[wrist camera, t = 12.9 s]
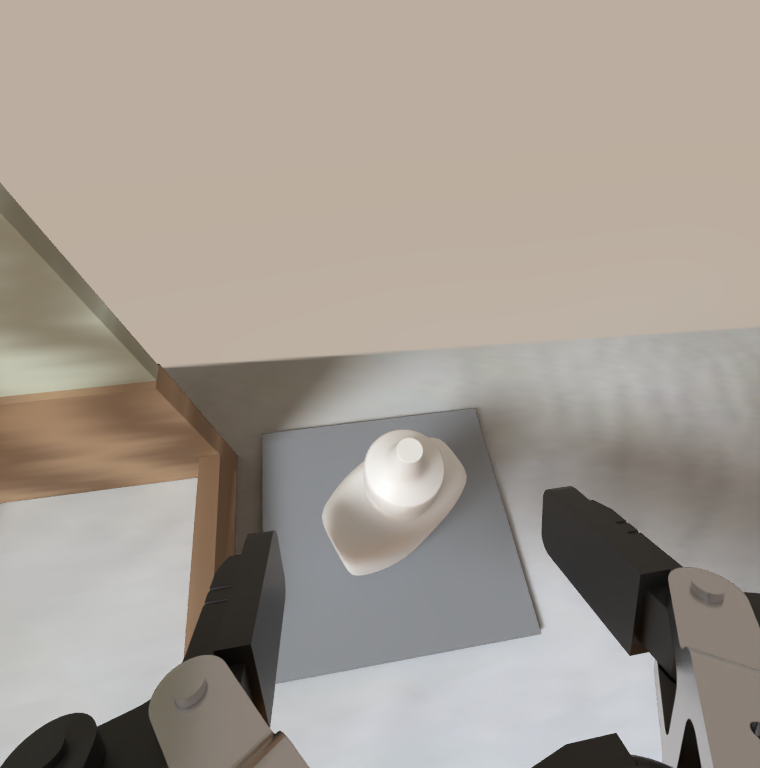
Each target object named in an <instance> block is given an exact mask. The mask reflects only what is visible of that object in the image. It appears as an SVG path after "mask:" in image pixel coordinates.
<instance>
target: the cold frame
mask: <svg viewBox="0 0 760 768" xmlns="http://www.w3.org/2000/svg"><path fill="white" fill-rule="evenodd" d="M197 477H198V483H197V496H196V509H195V522H194V535H193V548H192V560H191V573H190V586H189V599H188V612H187V625H186V637H185V650H184V657H185V654H186V651H187V649H188V646H189V643H190V640H191V638H192V635H193V632H194V630H195V627H196V624H197V621H198V619H199V616H200V613H201V610H202V608H203V606H204V605H205V603H204V602H205V599H206V597H207V594H208V592H209V591H210V589H209V588H210V586H211V583H212V580H213V578H214V575H215V572H216V571H217V570H218V568H219V567H220V566H221V565H222V564H223V563H224V561H225V560H226V559H227V558H228V557H230V556H235V524H236V490H237V454H236V453H235V452H234V451H233V450H232V449H231V447H230V446H229V445H228V444H227V443H226V442H225V440H224V439H223V438H222V437H221V436H220V435H219V433H218V432H217V431H216V430H215V429H214V428H213V426H212V425H211V424H210V423H209V422H208V420H207V419H206V418H205V417H204V416H203V415H202V413H201V412H200V411H199V410H198V409H197V408H196V406H195V405H194V404H193V403H192V402H191V401H190V399H189V398H188V397H187V396H186V395H185V394H184V392H183V391H182V390H181V389H180V388H179V387H178V385H177V384H176V383H175V382H174V381H173V380H172V378H171V377H170V376H169V375H168V374H167V373H166V371H165V370H164V369H163V368H162V367H161V365H160V364H156V362H155V361H154V360H153V359H152V358H151V357H150V356H149V354H148V353H147V352H146V351H145V350H144V349H143V348H142V346H141V345H140V344H139V343H138V342H137V340H136V339H135V338H134V337H133V336H132V335H131V334H130V332H129V331H128V330H127V329H126V328H125V327H124V325H123V324H122V323H121V322H120V321H119V320H118V318H117V317H116V316H115V315H114V314H113V313H112V312H111V311H110V309H109V308H108V307H107V306H106V305H105V303H104V302H103V301H102V300H101V299H100V298H99V297H98V295H97V294H96V293H95V292H94V291H93V290H92V288H91V287H90V286H89V285H88V284H87V283H86V282H85V281H84V279H83V278H82V277H81V276H80V275H79V273H78V272H77V271H76V270H75V269H74V268H73V266H72V265H71V264H70V263H69V262H68V261H67V260H66V258H65V257H64V256H63V255H62V254H61V253H60V252H59V250H58V249H57V248H56V247H55V246H54V244H52V242H51V241H50V240H49V239H48V238H47V236H46V235H45V234H44V233H43V232H42V231H41V229H40V228H39V227H38V226H37V225H36V224H35V223H34V221H33V220H32V219H31V218H30V217H29V216H28V215H27V213H26V212H25V211H24V210H23V209H22V207H21V206H20V205H19V204H18V203H17V202H16V201H15V199H14V198H13V197H12V196H11V195H10V194H9V192H8V191H7V190H6V189H5V188H4V187H3V185H2V184H1V183H0V503H5V502H13V501H20V500H28V499H36V498H43V497H51V496H59V495H66V494H74V493H82V492H90V491H97V490H105V489H113V488H120V487H128V486H136V485H143V484H151V483H159V482H167V481H174V480H182V479H190V478H197Z"/></svg>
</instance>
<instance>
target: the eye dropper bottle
mask: <svg viewBox="0 0 760 768" xmlns="http://www.w3.org/2000/svg"><path fill="white" fill-rule="evenodd" d="M466 478H467V474H466V472H465V469H464V467H463V465H462V464H461V462H460V461H459V459H458V458H457V457H456V456H455V454H454V453H453V452H452V450H451V449H450V448H449V447H448V446H447V445H446V444H445V443H444V442H443V441H441V440H440V439H437V438H432V437H430V438H428V437H427V436H425V435H424V434H421V433H420V432H417V431H413V430H409V429H407V430H405V429H403V430H401V429H399V430H395V431H393V430H392V431H391V432H388V433H384V435H381V437H378V440H375V442H374V443H372V446H370V449H369V450H368V453H366V457H365V460H364V461H363V462H362V463H361V464H359V465H358V466H357V467H356V468H355V469H354V470H353V471H351V472H350V473H349V474H348V475H347V476H346V477H345V479H344V480H343V481H342V482H341V483H340V484H339V486H338V487H337V488H336V490H335V491H334V492H333V494H332V495H331V497H330V498H329V500H328V501H327V503H326V505H325V507H324V510H323V513H322V521H323V525H324V528H325V530H326V532H327V534H328V536H329V538H330V540H331V542H332V544H333V546H334V548H335V550H336V551H337V553H338V555H339V557H340V559H341V560H342V562H343V564H344V566H345V567H346V569H347V570H348V571H349V572H350V573H351V574H352V575H356V576H361V575H367V574H371V573H375V572H378V571H380V570H383V569H386V568H388V567H390V566H392V565H394V564H396V563H397V562H399V561H401V560H402V559H404V558H405V557H407V556H408V555H409V554H410V553H412V552H413V551H414V550H415V549H416V548H417V547H418V546H419V545H420V544H421V543H422V542H423V541H424V540H425V539H426V538H427V537H428V536H429V534H430V533H431V532H432V531H433V530H434V529H435V528H436V527H437V526H438V525H439V524H440V523H441V521H442V520H443V519H444V518H445V517H446V516H447V514H448V513H449V512H450V511H451V509H452V508H453V507H454V505H455V503H456V502H457V500H458V499H459V497H460V495H461V493H462V491H463V489H464V486H465V484H466Z"/></svg>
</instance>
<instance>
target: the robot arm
mask: <svg viewBox="0 0 760 768" xmlns="http://www.w3.org/2000/svg"><path fill="white" fill-rule="evenodd" d="M542 540H543V544H544V547H545V549H546V551H547V553H548V554H549V556H550V557H551V558H552V560H553V561H554V562H555V563H556V565H557V566H558V567H559V568H560V570H561V571H562V572H563V573H564V575H565V576H566V577H567V578H568V580H569V581H570V582H571V583H572V585H573V586H574V587H575V588H576V589H577V591H578V592H579V593H580V594H581V596H582V597H583V598H584V599H585V601H586V602H587V603H588V604H589V606H590V607H591V608H592V609H593V611H594V612H595V613H596V614H597V616H598V617H599V618H600V619H601V621H602V622H603V623H604V624H605V626H606V627H607V628H608V629H609V631H610V632H611V633H612V634H613V636H614V637H615V638H616V639H617V641H618V642H619V643H620V644H621V645H622V647H623V648H624V649H625V650H626V652H627V653H628V654H629V655H630V656H631V655H636V654H641V653H646V652H650V654H651V655H652V656H653V657H654V658H655V664H654V677H655V686H656V696H657V705H658V715H659V724H660V733H661V743H662V763H661V762H658V761H655V760H653V759H649V758H645V757H641V756H637V755H630V754H629V752H628V750H627V749H626V747H625V746H624V744H623V743H622V741H621V740H620V738H619V736H618V735H617V733H614V734H609V735H605V736H601V737H596V738H592V739H588V740H583V741H579V742H575V743H570V744H566V745H565V746H563V747H562V748H560V749H559V750H557V751H556V752H554V753H553V754H551V755H550V756H548V757H547V758H545V759H544V760H542V761H541V762H539V763H538V764H536V765H535V766H533V767H532V768H760V594H759V593H747V592H742V591H741V590H740V589H739V588H738V587H737V586H736V585H734V584H733V583H731V582H730V581H728V580H727V579H725V578H723V577H721V576H719V575H717V574H714V573H712V572H709V571H706V570H702V569H698V568H691V567H682V566H681V565H680V564H679V563H677V562H676V561H675V560H674V559H672V558H671V557H670V556H669V555H667V554H666V553H665V552H664V551H663V550H661V549H660V548H659V547H658V546H656V545H655V544H654V543H653V542H651V541H650V540H649V539H648V538H647V537H645V536H644V535H643V534H642V533H638V530H637V529H635V528H634V527H633V526H632V525H631V524H629V523H626V520H624V519H623V518H622V517H621V516H619V515H618V514H617V513H616V512H615V511H613V510H612V509H610V508H608V507H606V506H604V505H602V504H600V503H598V502H596V501H594V500H591V501H590V500H588V499H587V498H586V497H585V496H584V495H583V494H581V493H580V492H579V491H578V490H577V489H575V488H574V487H572V486H568V487H561V488H555V489H548V490H546V491H545V492H544V495H543V513H542ZM209 589H210V591H209V592H208V594H207V597H206V599H205V602H204V603H205V605H204V606H203V608H202V610H201V613H200V616H199V619H198V621H197V624H196V627H195V630H194V632H193V635H192V638H191V640H190V643H189V646H188V649H187V651H186V654H185V657H184V660H183V662H182V663H181V664H180V665H178V666H177V667H176V668H174V669H173V670H172V671H171V672H169V673H168V674H167V675H166V676H165V677H164V679H163V680H162V681H161V682H160V683H159V685H158V686H157V688H156V689H155V691H154V693H153V695H152V698H151V699H150V700H149V701H147V702H146V703H144V704H143V705H141V706H139V707H137V708H135V709H133V710H131V711H129V712H127V713H125V714H123V715H121V716H118V717H116V718H114V719H112V720H110V721H108V722H106V723H104V724H102V725H100V726H98V727H97V726H96V723H95V721H94V719H93V718H92V717H91V716H89V715H88V714H84V713H73V714H68V715H65V716H62V717H59V718H57V719H55V720H53V721H51V722H49V723H47V724H45V725H44V726H42V727H41V728H39V729H38V730H36V731H35V732H34V733H32V734H31V735H30V736H29V737H27V738H26V739H25V740H24V741H23V742H22V743H21V744H20V745H19V746H18V747H17V748H16V749H15V750H14V751H13V752H12V753H11V754H10V755H9V757H8V758H7V759H6V760H5V762H4V763H3V764H2V766H1V767H0V768H309V767H308V765H307V764H306V762H305V761H304V760H303V758H302V757H301V755H300V754H299V752H298V751H297V750H296V748H295V747H294V745H293V744H292V742H291V741H290V740H289V739H288V737H287V736H286V735H285V734H284V733H283V732H281V731H278V732H277V733H276V734H274V733H273V732H272V731H271V729H270V723H271V715H272V706H273V698H274V690H275V681H276V673H277V664H278V656H279V648H280V639H281V631H282V623H283V614H284V606H285V595H286V588H285V575H284V570H283V564H282V558H281V553H280V547H279V542H278V536H277V533H276V531H275V530H274V531H267V532H260V533H254V534H248V535H247V538H246V541H245V544H244V548H243V551H242V555H236V556H230V557H228V558H227V559H226V560H225V561H224V563H223V564H222V565H221V566H220V567H219V568H218V570H217V571H216V572H215V575H214V578H213V580H212V583H211V586H210V588H209Z"/></svg>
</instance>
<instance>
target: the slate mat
mask: <svg viewBox="0 0 760 768" xmlns="http://www.w3.org/2000/svg"><path fill="white" fill-rule="evenodd" d="M399 429H401V430H403V429H405V430H407V429H409V430H413V431H417V432H420V433H421V434H424V435H425V436H427V437H428V438H430V437H432V438H437V439H440V440H441V441H443V442H444V443H445V444H446V445H447V446H448V447H449V448H450V449H451V450H452V452H453V453H454V454H455V456H456V457H457V458H458V459H459V461H460V462H461V464H462V465H463V467H464V469H465V472H466V474H467V478H466V484H465V486H464V489H463V491H462V493H461V495H460V497H459V499H458V500H457V502H456V503H455V505H454V507H453V508H452V509H451V511H450V512H449V513H448V514H447V516H446V517H445V518H444V519H443V520H442V521H441V523H440V524H439V525H438V526H437V527H436V528H435V529H434V530H433V531H432V532H431V533H430V534H429V536H428V537H427V538H426V539H425V540H424V541H423V542H422V543H421V544H420V545H419V546H418V547H417V548H416V549H415V550H414V551H413V552H412V553H410V554H409V555H408V556H407V557H405V558H404V559H402V560H401V561H399V562H397V563H396V564H394V565H392V566H390V567H388V568H386V569H383V570H380V571H378V572H375V573H371V574H367V575H361V576H356V575H352V574H351V573H350V572H349V571H348V570H347V569H346V567H345V566H344V564H343V562H342V560H341V559H340V557H339V555H338V553H337V551H336V550H335V548H334V546H333V544H332V542H331V540H330V538H329V536H328V534H327V532H326V530H325V528H324V525H323V521H322V513H323V510H324V507H325V505H326V503H327V501H328V500H329V498H330V497H331V495H332V494H333V492H334V491H335V490H336V488H337V487H338V486H339V484H340V483H341V482H342V481H343V480H344V479H345V477H346V476H347V475H348V474H349V473H350V472H351V471H353V470H354V469H355V468H356V467H357V466H358V465H359V464H361V463H362V462H363V461H364V460H365V457H366V453H368V450H369V449H370V446H372V443H374V442H375V440H378V437H381V435H384V433H388V432H391V431H392V430H393V431H395V430H399ZM262 522H263V532H267V531H274V530H275V531H276V533H277V536H278V542H279V547H280V553H281V558H282V564H283V570H284V575H285V588H286V595H285V606H284V614H283V623H282V631H281V639H280V648H279V656H278V664H277V673H276V681H275V684H278V683H283V682H288V681H293V680H299V679H304V678H309V677H315V676H320V675H325V674H331V673H336V672H341V671H347V670H352V669H357V668H363V667H368V666H373V665H379V664H384V663H389V662H394V661H400V660H405V659H410V658H416V657H421V656H426V655H432V654H437V653H442V652H448V651H453V650H458V649H464V648H469V647H474V646H480V645H485V644H490V643H496V642H501V641H506V640H511V639H517V638H522V637H527V636H533V635H538V634H541V631H540V628H539V624H538V621H537V618H536V614H535V611H534V607H533V604H532V601H531V597H530V594H529V590H528V587H527V584H526V580H525V577H524V573H523V570H522V567H521V563H520V560H519V556H518V553H517V550H516V546H515V543H514V539H513V536H512V533H511V529H510V526H509V522H508V519H507V516H506V512H505V509H504V505H503V502H502V499H501V495H500V492H499V488H498V485H497V482H496V478H495V475H494V471H493V468H492V465H491V461H490V458H489V454H488V451H487V448H486V444H485V441H484V437H483V434H482V431H481V427H480V424H479V420H478V417H477V414H476V410H475V408H473V409H465V410H456V411H448V412H440V413H431V414H423V415H415V416H406V417H398V418H390V419H382V420H373V421H365V422H357V423H348V424H340V425H332V426H323V427H315V428H307V429H298V430H290V431H282V432H274V433H265V434H262Z"/></svg>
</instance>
